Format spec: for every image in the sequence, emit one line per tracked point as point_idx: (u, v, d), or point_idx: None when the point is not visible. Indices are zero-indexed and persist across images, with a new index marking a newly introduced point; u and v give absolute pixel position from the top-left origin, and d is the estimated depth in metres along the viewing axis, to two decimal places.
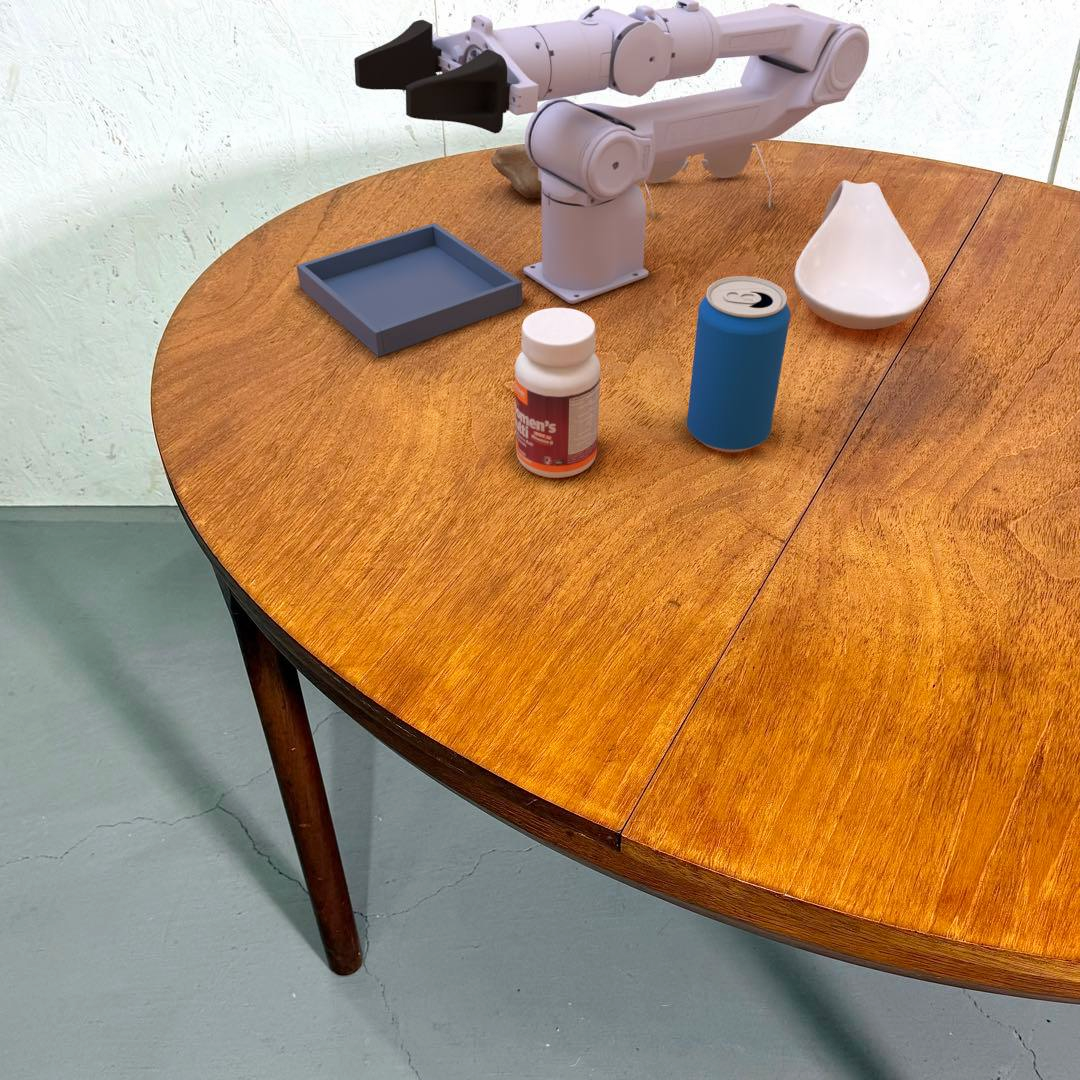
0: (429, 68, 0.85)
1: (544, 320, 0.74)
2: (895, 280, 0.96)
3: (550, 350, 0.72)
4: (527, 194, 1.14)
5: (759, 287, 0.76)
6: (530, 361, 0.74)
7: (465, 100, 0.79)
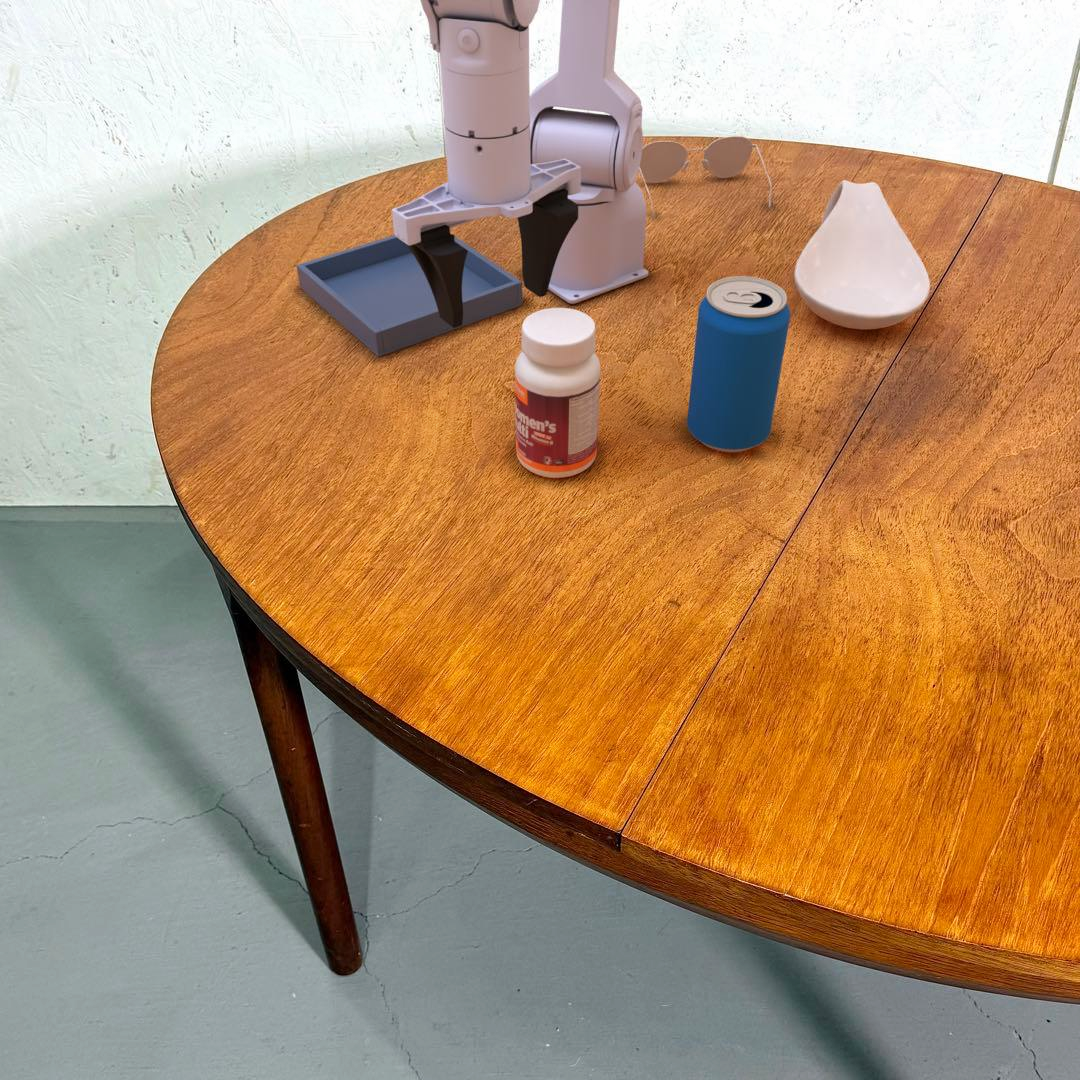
0: None
1: (544, 320, 0.74)
2: (895, 280, 0.96)
3: (550, 350, 0.72)
4: None
5: (759, 287, 0.76)
6: (530, 361, 0.74)
7: None
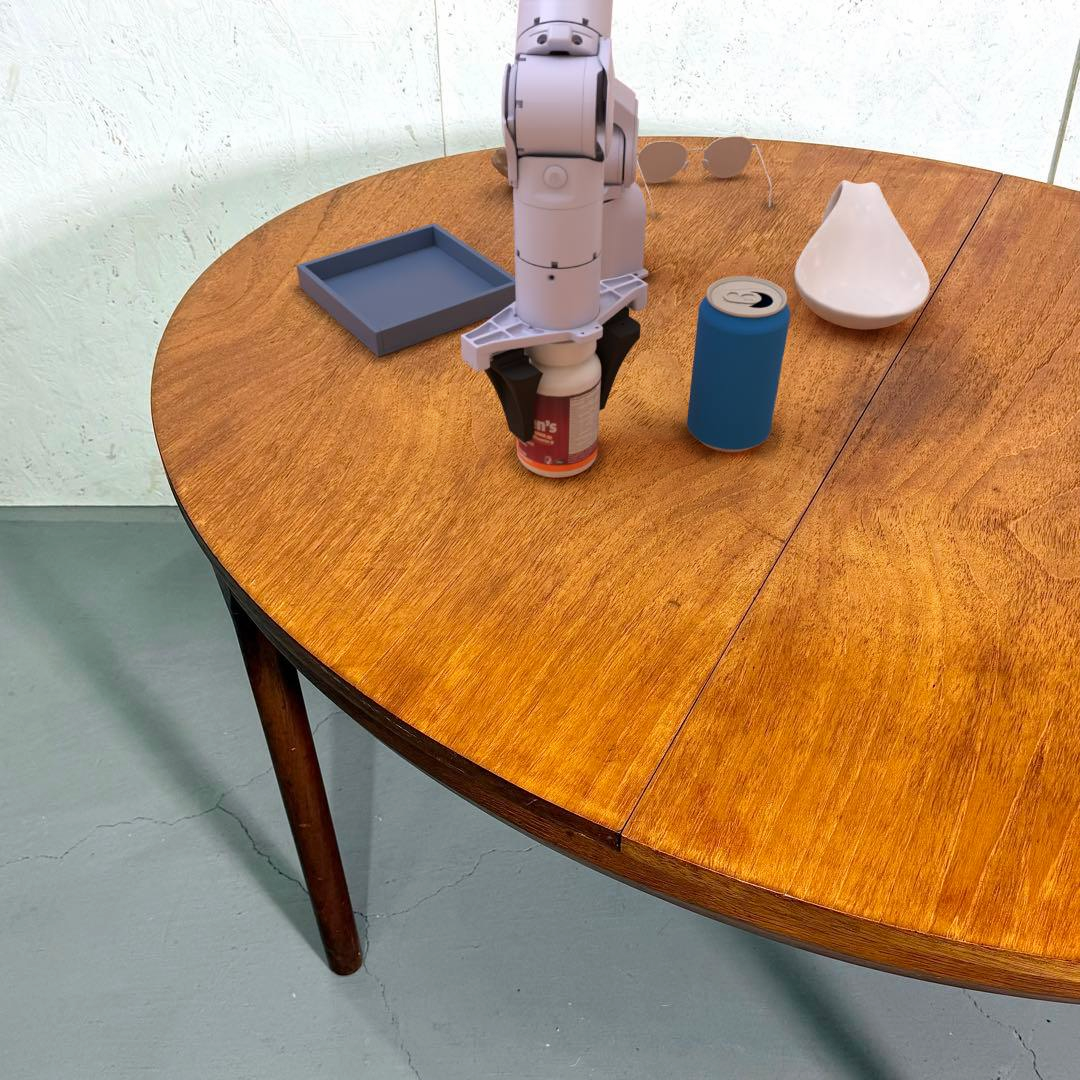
0: None
1: None
2: (895, 280, 0.96)
3: (551, 350, 0.72)
4: None
5: (759, 287, 0.76)
6: (531, 361, 0.74)
7: None
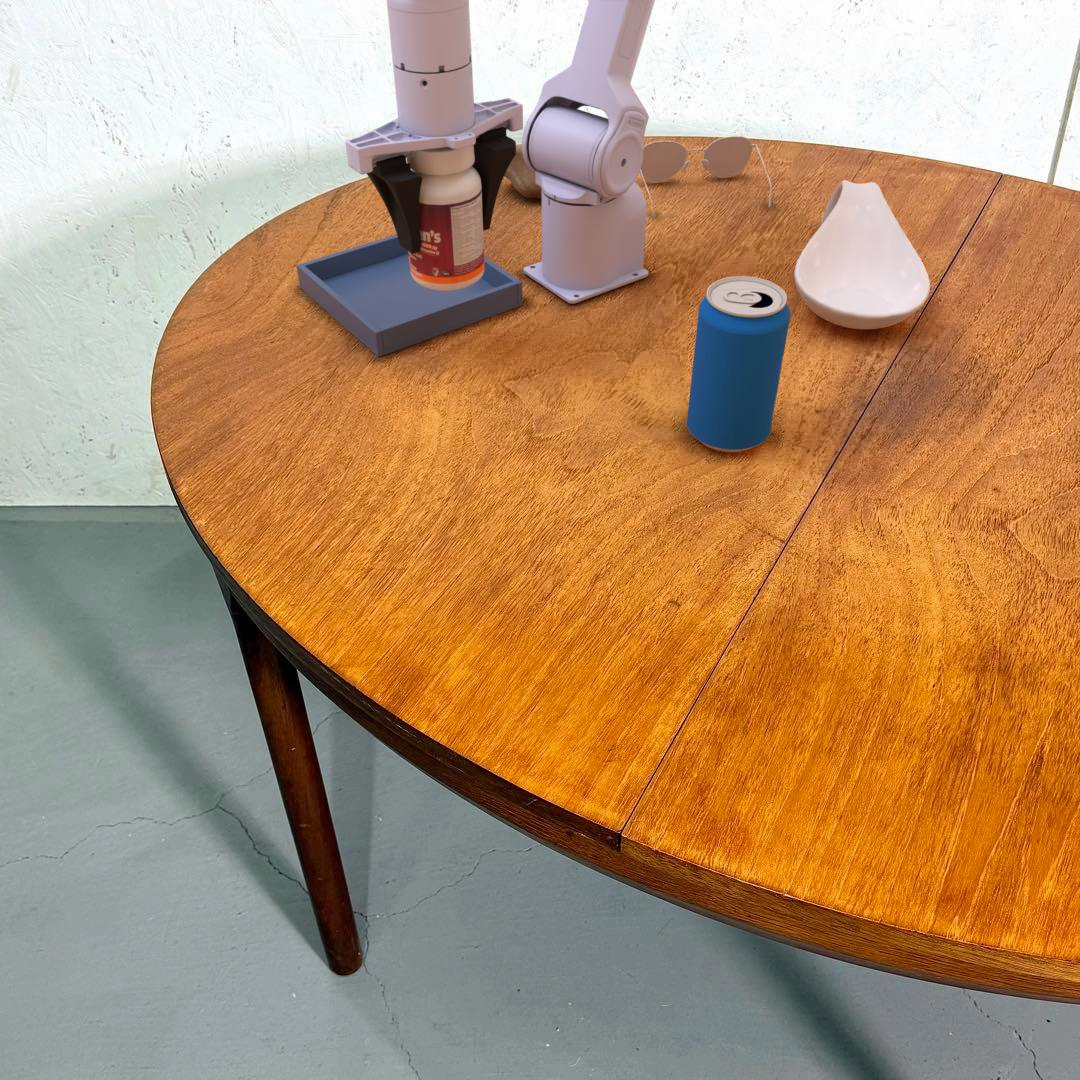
0: None
1: None
2: (895, 280, 0.96)
3: (429, 158, 0.79)
4: (527, 194, 1.14)
5: (759, 287, 0.76)
6: None
7: None
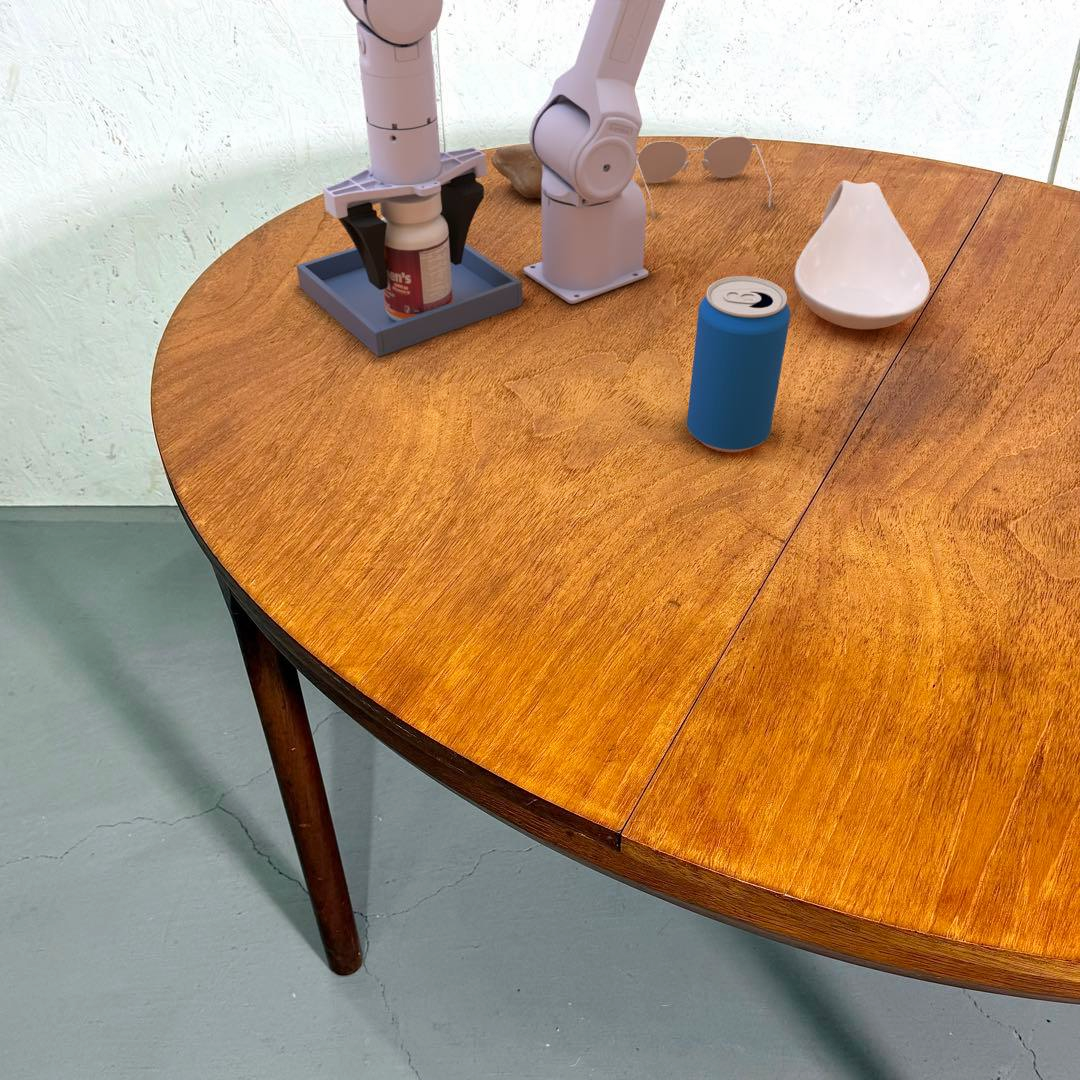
0: None
1: None
2: (895, 280, 0.96)
3: (400, 209, 0.88)
4: (527, 194, 1.14)
5: (759, 287, 0.76)
6: (387, 222, 0.90)
7: None
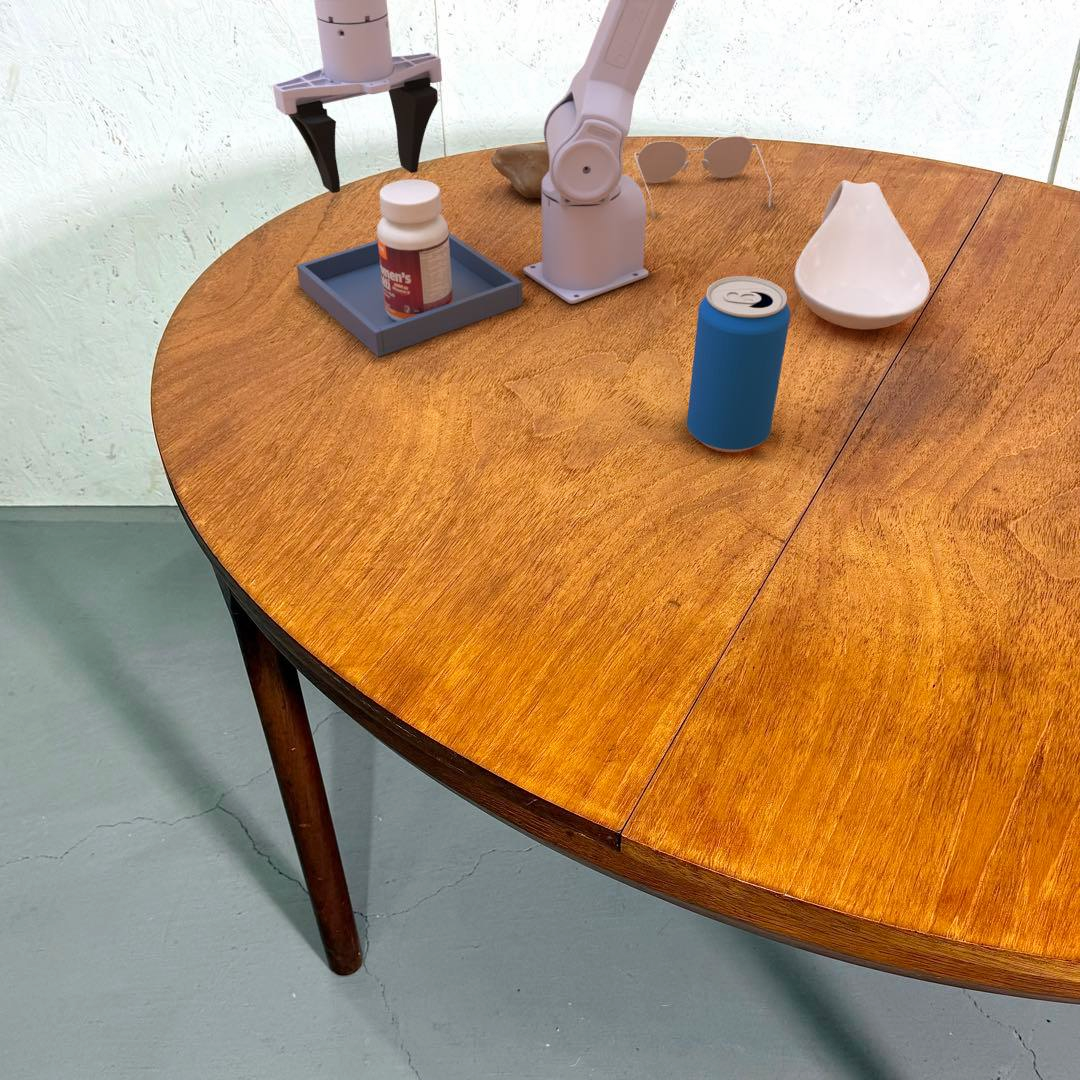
0: None
1: (398, 187, 0.90)
2: (895, 280, 0.96)
3: (400, 209, 0.88)
4: (527, 194, 1.14)
5: (759, 287, 0.76)
6: (387, 221, 0.90)
7: None
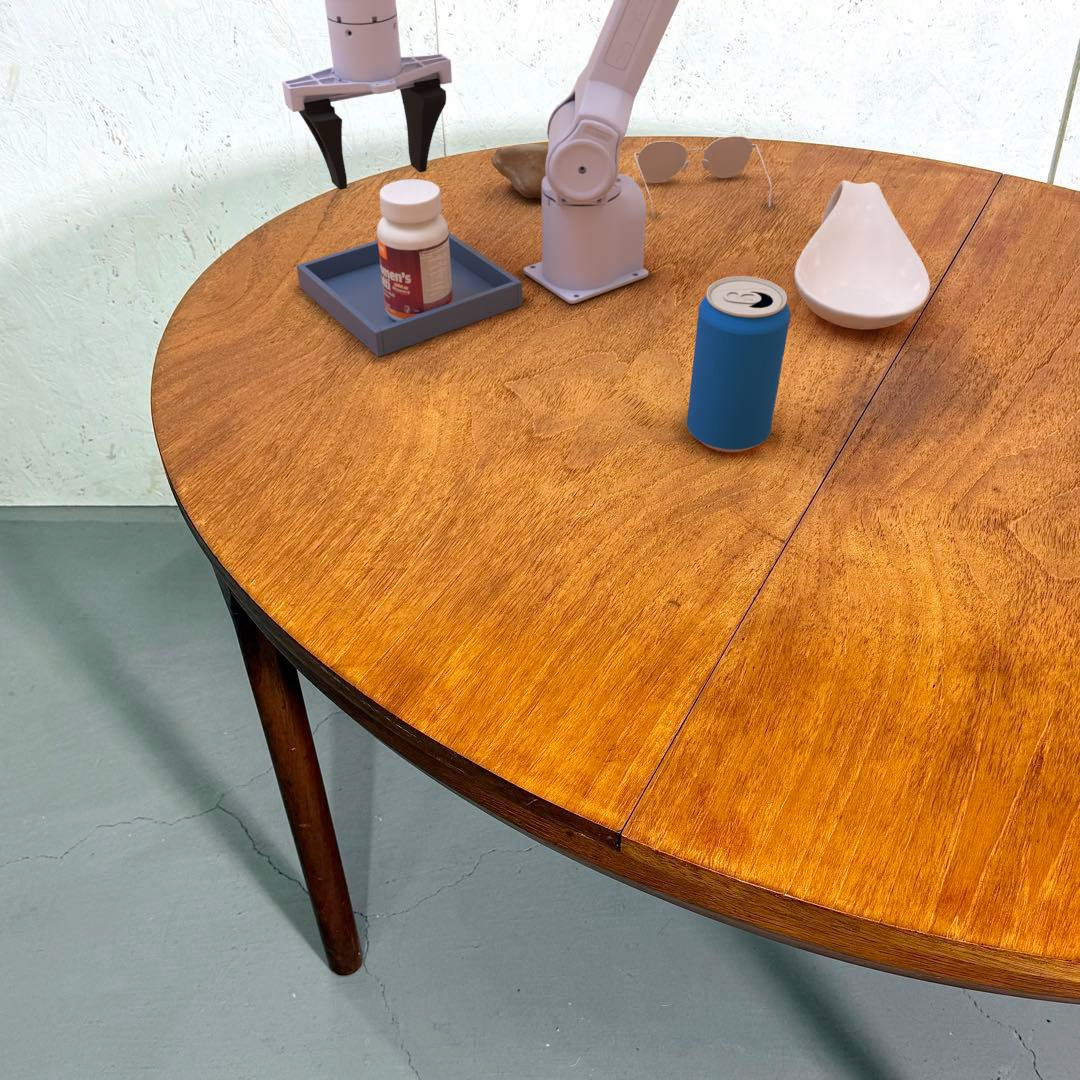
0: None
1: (398, 187, 0.90)
2: (895, 280, 0.96)
3: (400, 209, 0.88)
4: (527, 194, 1.14)
5: (759, 287, 0.76)
6: (387, 221, 0.90)
7: None
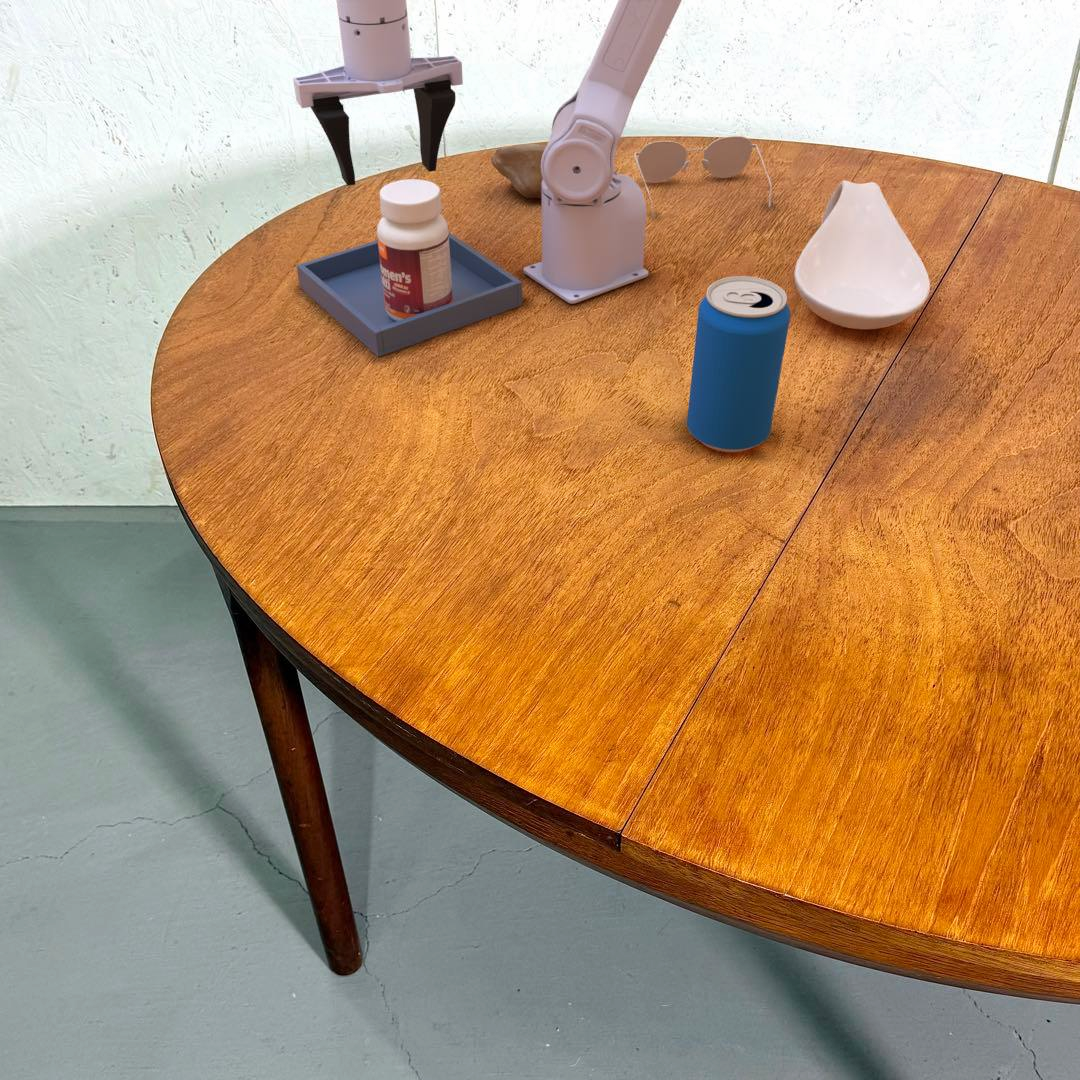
0: None
1: (399, 187, 0.90)
2: (895, 280, 0.96)
3: (400, 209, 0.88)
4: (527, 194, 1.14)
5: (759, 287, 0.76)
6: (387, 221, 0.90)
7: None
